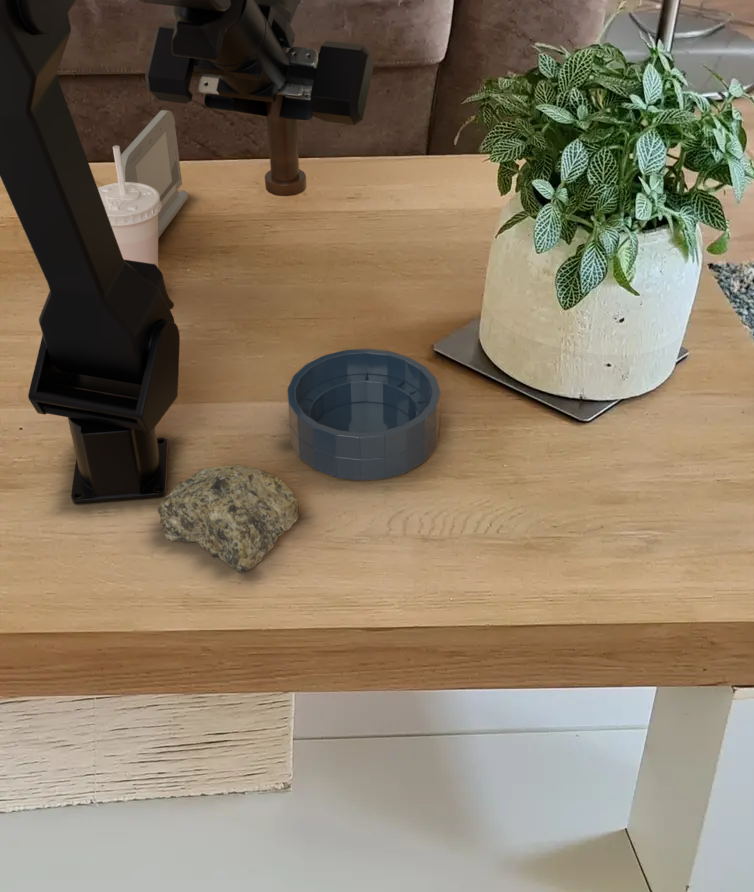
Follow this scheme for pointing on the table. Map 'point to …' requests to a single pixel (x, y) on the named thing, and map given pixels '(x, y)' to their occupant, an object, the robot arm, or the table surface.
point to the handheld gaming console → (157, 165)
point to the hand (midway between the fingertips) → (287, 114)
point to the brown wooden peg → (283, 153)
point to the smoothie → (132, 215)
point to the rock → (230, 513)
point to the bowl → (364, 414)
